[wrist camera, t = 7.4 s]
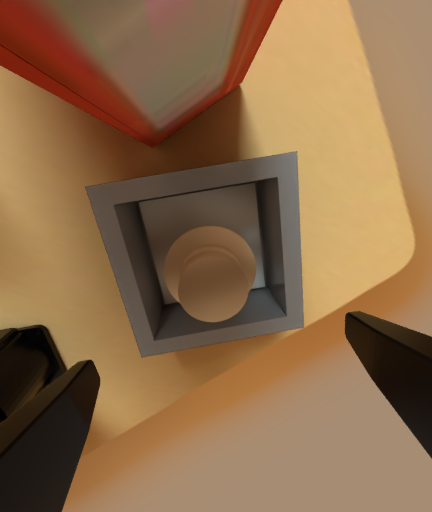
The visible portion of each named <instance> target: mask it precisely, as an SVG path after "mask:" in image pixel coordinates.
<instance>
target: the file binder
mask: <svg viewBox="0 0 432 512" xmlns="http://www.w3.org/2000/svg"><path fill="white" fill-rule="evenodd" d="M281 2H282V0H0V65H1V66H3V67H4V68H6V69H8V70H10V71H12V72H14V73H15V74H17V75H19V76H21V77H23V78H25V79H27V80H28V81H30V82H32V83H34V84H36V85H38V86H40V87H41V88H43V89H45V90H47V91H49V92H51V93H53V94H54V95H56V96H58V97H60V98H62V99H64V100H65V101H67V102H69V103H71V104H73V105H75V106H77V107H78V108H80V109H82V110H84V111H86V112H88V113H90V114H91V115H93V116H95V117H97V118H99V119H101V120H102V121H104V122H106V123H108V124H110V125H112V126H114V127H115V128H117V129H119V130H121V131H123V132H125V133H127V134H128V135H130V136H132V137H134V138H136V139H138V140H139V141H141V142H143V143H145V144H147V145H149V146H151V147H153V146H156V145H157V144H159V143H160V142H162V141H163V140H164V139H166V138H167V137H168V136H170V135H171V134H173V133H174V132H175V131H177V130H178V129H179V128H181V127H182V126H184V125H185V124H186V123H188V122H189V121H190V120H192V119H193V118H195V117H196V116H197V115H199V114H200V113H201V112H203V111H204V110H206V109H207V108H208V107H210V106H211V105H212V104H214V103H215V102H217V101H218V100H219V99H221V98H222V97H224V96H225V95H226V94H228V93H229V92H230V91H232V90H233V89H235V88H236V86H238V85H239V84H240V83H242V81H243V79H244V77H245V75H246V73H247V71H248V69H249V67H250V65H251V63H252V61H253V59H254V57H255V55H256V53H257V51H258V49H259V47H260V45H261V43H262V41H263V39H264V37H265V35H266V33H267V31H268V29H269V27H270V24H271V22H272V20H273V18H274V16H275V14H276V12H277V10H278V8H279V6H280V4H281Z"/></svg>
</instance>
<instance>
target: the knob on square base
mask: <svg viewBox="0 0 432 512" xmlns="http://www.w3.org/2000/svg"><path fill="white" fill-rule="evenodd" d="M139 206H140V210H141V214H142V217H143V221H144V225H145V229H146V233H147V236H148V240H149V244H150V248H151V252H152V255H153V259H154V263H155V267H156V271H157V274H158V278H159V282H160V286H161V290H162V293H163V297H164V301H165V305H166V304H171V303H177V302H179V303H180V304H181V305H182V307H183V309H184V310H185V311H186V312H187V313H188V314H189V315H191V316H192V317H194V318H196V319H198V320H201V321H205V322H220V321H224V320H226V319H229V318H231V317H232V316H234V315H235V314H237V313H238V312H239V311H240V310H241V309H242V307H243V306H244V304H245V302H246V300H247V297H248V293H249V291H250V290H251V289H254V288H260V287H265V280H264V270H263V260H262V250H261V240H260V229H259V219H258V209H257V199H256V189H255V183H254V182H252V183H246V184H240V185H234V186H228V187H222V188H217V189H211V190H205V191H199V192H193V193H187V194H181V195H175V196H169V197H163V198H158V199H152V200H146V201H140V202H139Z"/></svg>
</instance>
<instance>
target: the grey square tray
mask: <svg viewBox="0 0 432 512" xmlns="http://www.w3.org/2000/svg"><path fill="white" fill-rule="evenodd" d="M252 182H254V183H255V189H256V199H257V209H258V219H259V229H260V240H261V250H262V260H263V270H264V280H265V287H260V288H254V289H251V290H250V291H249V293H248V297H247V300H246V302H245V304H244V306H243V307H242V309H241V310H240V311H239V312H238V313H237V314H235V315H234V316H232V317H231V318H229V319H226V320H224V321H220V322H205V321H201V320H198V319H196V318H194V317H192V316H191V315H189V314H188V313H187V312H186V311H185V310H184V309H183V307H182V305H181V304H180V303H179V302H177V303H171V304H166V305H165V301H164V297H163V293H162V290H161V286H160V282H159V278H158V274H157V271H156V267H155V263H154V259H153V255H152V252H151V248H150V244H149V240H148V236H147V233H146V229H145V225H144V221H143V217H142V214H141V210H140V206H139V202H140V201H146V200H152V199H158V198H163V197H169V196H175V195H181V194H187V193H193V192H199V191H205V190H211V189H217V188H222V187H228V186H234V185H240V184H246V183H252ZM85 188H86V191H87V194H88V197H89V200H90V203H91V206H92V209H93V212H94V215H95V218H96V221H97V224H98V227H99V230H100V233H101V236H102V239H103V242H104V245H105V248H106V251H107V254H108V257H109V260H110V263H111V266H112V269H113V272H114V275H115V278H116V281H117V285H118V288H119V291H120V294H121V297H122V300H123V303H124V306H125V309H126V312H127V315H128V318H129V321H130V324H131V327H132V330H133V333H134V336H135V339H136V342H137V345H138V348H139V351H140V354H141V357H147V356H152V355H158V354H163V353H169V352H174V351H179V350H185V349H190V348H196V347H201V346H206V345H212V344H217V343H223V342H228V341H233V340H239V339H244V338H250V337H255V336H260V335H266V334H271V333H277V332H282V331H287V330H293V329H298V328H304V315H303V290H302V264H301V238H300V213H299V187H298V162H297V151H296V152H290V153H284V154H278V155H272V156H266V157H260V158H254V159H248V160H242V161H236V162H230V163H224V164H218V165H212V166H206V167H200V168H194V169H188V170H182V171H176V172H170V173H164V174H158V175H152V176H146V177H140V178H134V179H128V180H122V181H116V182H110V183H104V184H99V185H93V186H87V187H85Z"/></svg>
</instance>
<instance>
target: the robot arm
mask: <svg viewBox="0 0 432 512" xmlns="http://www.w3.org/2000/svg"><path fill="white" fill-rule="evenodd" d="M38 330H39V331H40V332H39V331H38ZM345 335H346V338H347V340H348V341H349V343H350V344H351V346H352V348H353V350H354V351H355V353H356V354H357V356H358V357H359V359H360V361H361V363H362V364H363V366H364V367H365V369H366V371H367V372H368V374H369V375H370V377H371V378H372V380H373V381H374V383H375V384H376V385H377V387H378V388H379V389H380V391H381V392H382V393H383V395H384V396H385V397H386V399H387V400H388V401H389V402H390V404H391V405H392V407H393V408H394V409H395V411H396V412H397V413H398V415H399V416H400V417H401V419H402V420H403V421H404V423H405V424H406V425H407V426H408V428H409V429H410V430H411V432H412V433H413V434H414V436H415V437H416V438H417V440H418V441H419V442H420V444H421V445H422V446H423V448H424V449H425V450H426V452H427V453H428V454H429V455H430V457H431V458H432V337H430V336H428V335H425V334H423V333H420V332H417V331H414V330H411V329H408V328H406V327H403V326H400V325H397V324H394V323H392V322H389V321H386V320H383V319H380V318H377V317H375V316H372V315H369V314H366V313H363V312H361V311H354V312H348V313H347V314H346V316H345ZM99 387H100V377H99V374H98V372H97V369H96V367H95V365H94V362H93V361H92V360H85V361H80V362H78V363H76V364H75V365H74V366H72V367H71V368H70V369H69V370H67V371H66V370H65V368H64V366H63V364H62V362H61V359H60V357H59V355H58V353H57V351H56V349H55V347H54V345H53V343H52V341H51V338H50V336H49V334H48V332H47V330H46V328H45V327H44V326H43V325H34V326H29V327H23V328H18V329H17V328H9V329H3V330H0V512H62V509H63V506H64V503H65V500H66V497H67V494H68V491H69V488H70V485H71V483H72V480H73V477H74V474H75V471H76V468H77V465H78V462H79V459H80V456H81V453H82V450H83V447H84V444H85V441H86V438H87V435H88V432H89V428H90V424H91V420H92V416H93V412H94V408H95V404H96V399H97V395H98V391H99Z"/></svg>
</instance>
